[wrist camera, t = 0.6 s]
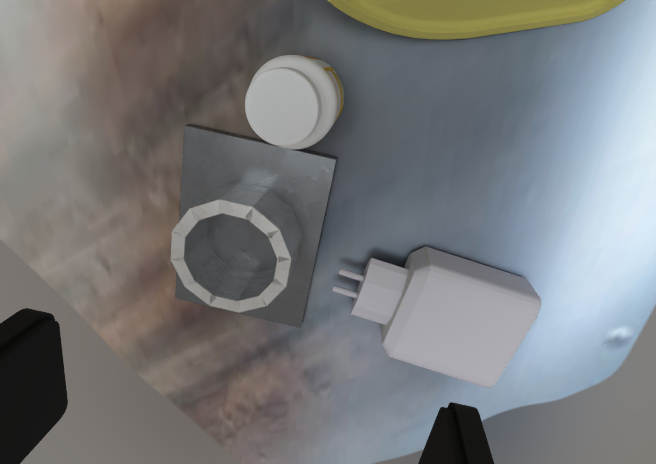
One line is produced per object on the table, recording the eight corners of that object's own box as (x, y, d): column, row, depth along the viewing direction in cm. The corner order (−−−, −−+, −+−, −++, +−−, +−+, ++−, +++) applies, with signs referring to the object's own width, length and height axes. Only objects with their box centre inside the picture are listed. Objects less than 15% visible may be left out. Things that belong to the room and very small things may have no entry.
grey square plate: (190, 123, 32) (154, 134, 27) (337, 157, 31) (329, 174, 26) (180, 292, 38) (149, 327, 33) (302, 321, 38) (291, 361, 33)
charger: (354, 219, 33) (523, 274, 34) (323, 307, 37) (476, 355, 37) (351, 242, 29) (545, 305, 29) (316, 339, 33) (489, 394, 33)
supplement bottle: (261, 107, 31) (214, 123, 22) (297, 41, 28) (261, 29, 20) (320, 146, 31) (298, 178, 22) (359, 85, 29) (352, 92, 20)
